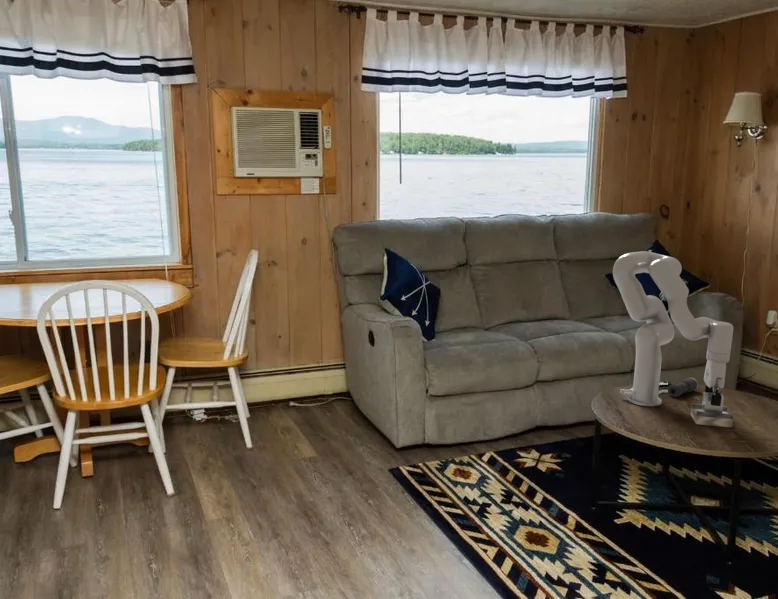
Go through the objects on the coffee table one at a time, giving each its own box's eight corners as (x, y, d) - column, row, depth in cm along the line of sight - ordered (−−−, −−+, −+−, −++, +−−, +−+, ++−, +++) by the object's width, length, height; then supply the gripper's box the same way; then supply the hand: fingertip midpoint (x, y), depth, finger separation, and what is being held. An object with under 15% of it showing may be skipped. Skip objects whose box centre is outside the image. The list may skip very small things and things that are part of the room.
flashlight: (678, 399, 272) (679, 386, 271) (665, 395, 276) (666, 383, 275) (697, 391, 281) (698, 379, 280) (684, 388, 285) (686, 376, 284)
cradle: (696, 424, 245) (697, 412, 244) (690, 414, 255) (691, 403, 254) (732, 427, 243) (733, 415, 242) (724, 417, 252) (726, 405, 252)
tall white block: (704, 414, 247) (706, 396, 245) (701, 410, 251) (703, 392, 250) (722, 415, 245) (724, 397, 244) (719, 411, 250) (721, 393, 248)
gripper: (701, 348, 253) (696, 392, 257) (712, 361, 237) (706, 408, 240) (723, 350, 252) (717, 394, 255) (735, 363, 235) (729, 410, 239)
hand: (712, 400), depth 248 cm, fingers open, 9 cm apart
